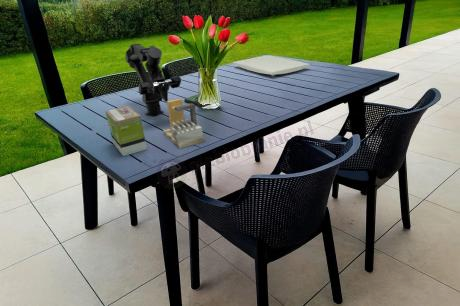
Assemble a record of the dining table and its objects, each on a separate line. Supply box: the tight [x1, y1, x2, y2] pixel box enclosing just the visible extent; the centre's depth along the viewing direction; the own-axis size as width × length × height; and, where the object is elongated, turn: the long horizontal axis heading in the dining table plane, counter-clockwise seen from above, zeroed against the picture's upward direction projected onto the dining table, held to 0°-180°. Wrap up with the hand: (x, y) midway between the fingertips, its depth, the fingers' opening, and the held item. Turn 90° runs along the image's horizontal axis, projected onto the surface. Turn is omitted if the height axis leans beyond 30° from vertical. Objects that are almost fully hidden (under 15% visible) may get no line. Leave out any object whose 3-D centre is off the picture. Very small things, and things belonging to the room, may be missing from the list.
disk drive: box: [183, 93, 212, 109], centre depth 189 cm, size 10×3×15 cm
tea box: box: [105, 105, 148, 157], centre depth 140 cm, size 15×10×15 cm
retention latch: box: [166, 98, 185, 131], centre depth 148 cm, size 6×6×13 cm
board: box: [232, 55, 311, 77], centre depth 247 cm, size 45×32×5 cm
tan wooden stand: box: [162, 103, 206, 149], centre depth 146 cm, size 18×11×14 cm, turn 30°
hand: (166, 101), depth 155 cm, fingers closed
